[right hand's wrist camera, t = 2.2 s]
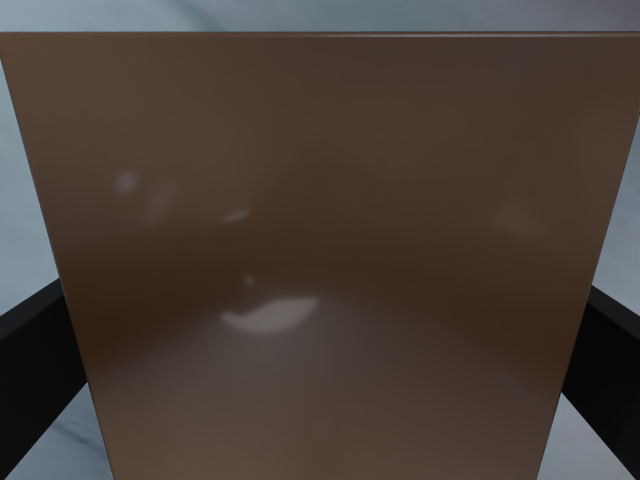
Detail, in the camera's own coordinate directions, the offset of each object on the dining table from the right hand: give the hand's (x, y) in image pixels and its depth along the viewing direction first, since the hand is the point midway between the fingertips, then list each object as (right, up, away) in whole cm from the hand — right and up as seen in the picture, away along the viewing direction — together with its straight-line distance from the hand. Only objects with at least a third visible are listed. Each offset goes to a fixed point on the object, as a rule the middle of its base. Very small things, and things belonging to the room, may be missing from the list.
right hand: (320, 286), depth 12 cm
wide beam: (0, -22, +10) cm, 24 cm away
